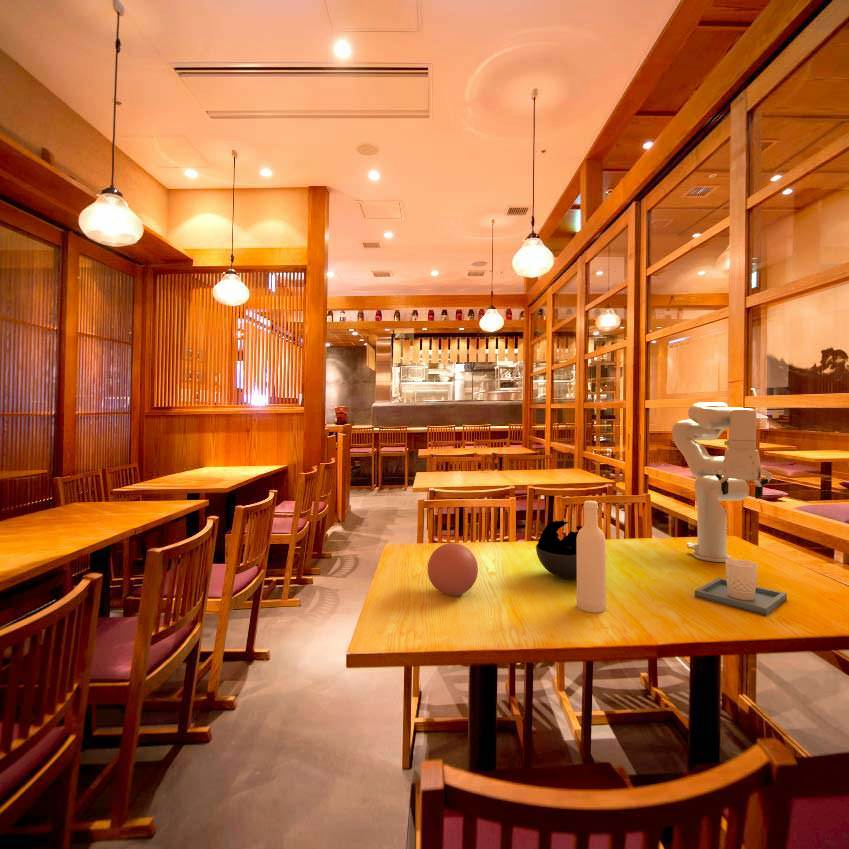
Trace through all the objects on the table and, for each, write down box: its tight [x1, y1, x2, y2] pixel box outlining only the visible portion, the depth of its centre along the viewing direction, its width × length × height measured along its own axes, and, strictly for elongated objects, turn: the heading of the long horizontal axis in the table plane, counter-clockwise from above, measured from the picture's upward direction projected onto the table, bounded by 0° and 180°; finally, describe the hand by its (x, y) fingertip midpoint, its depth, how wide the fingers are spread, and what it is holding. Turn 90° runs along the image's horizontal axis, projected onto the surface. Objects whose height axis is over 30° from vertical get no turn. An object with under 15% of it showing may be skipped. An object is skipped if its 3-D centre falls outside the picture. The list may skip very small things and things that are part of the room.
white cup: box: [724, 558, 758, 600], centre depth 140 cm, size 8×8×10 cm
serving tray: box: [694, 577, 788, 617], centre depth 140 cm, size 18×18×2 cm
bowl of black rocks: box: [535, 520, 583, 580], centre depth 160 cm, size 20×20×19 cm
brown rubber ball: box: [427, 542, 479, 596], centre depth 148 cm, size 15×20×15 cm
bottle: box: [576, 500, 607, 614], centre depth 134 cm, size 8×8×30 cm
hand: (741, 496), depth 160 cm, fingers open, 9 cm apart
